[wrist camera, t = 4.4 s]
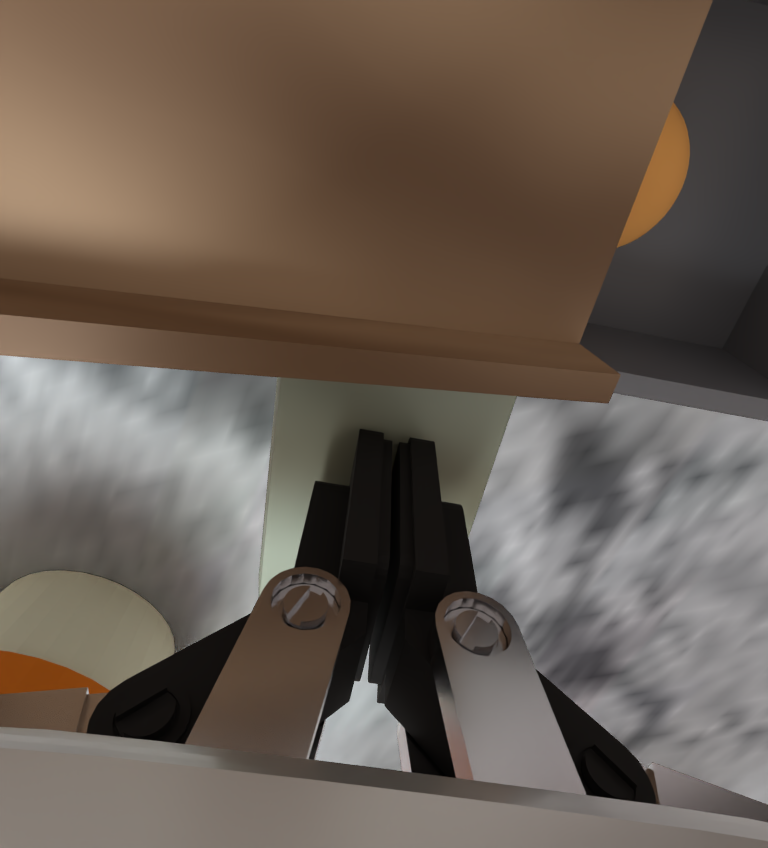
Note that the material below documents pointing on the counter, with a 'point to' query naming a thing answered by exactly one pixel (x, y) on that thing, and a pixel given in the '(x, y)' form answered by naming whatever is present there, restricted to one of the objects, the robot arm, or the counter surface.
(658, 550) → the counter surface
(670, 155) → the ball
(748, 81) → the bin
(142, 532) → the counter surface
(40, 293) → the wooden tilting tray
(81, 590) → the reusable coffee cup
